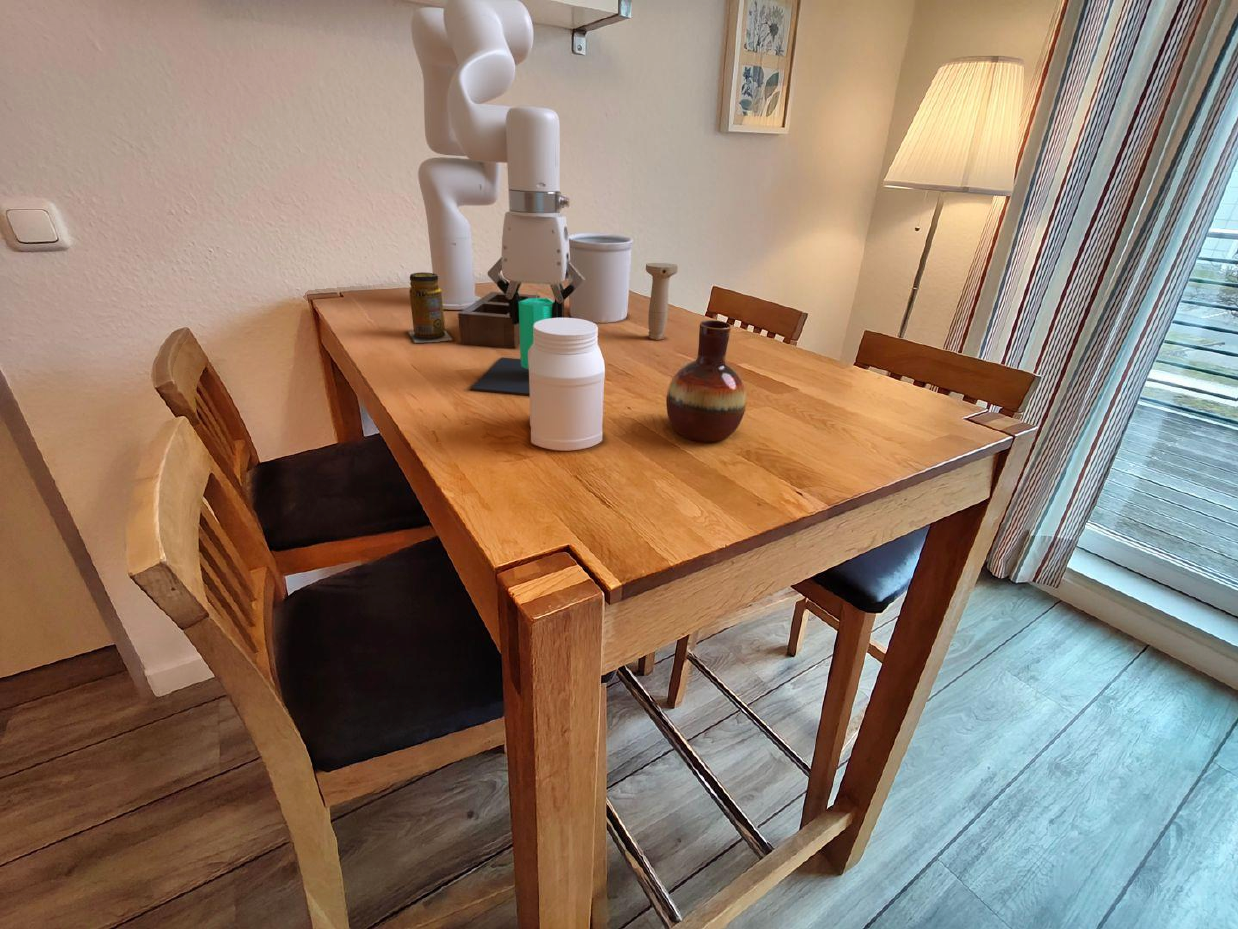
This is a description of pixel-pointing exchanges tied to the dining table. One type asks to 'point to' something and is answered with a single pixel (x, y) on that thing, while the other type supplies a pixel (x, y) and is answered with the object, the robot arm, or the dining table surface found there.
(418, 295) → the condiment
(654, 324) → the handle
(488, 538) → the dining table surface
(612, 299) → the utensil holder
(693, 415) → the vase
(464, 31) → the robot arm
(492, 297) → the holder
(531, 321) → the candle
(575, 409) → the jar
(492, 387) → the mat
